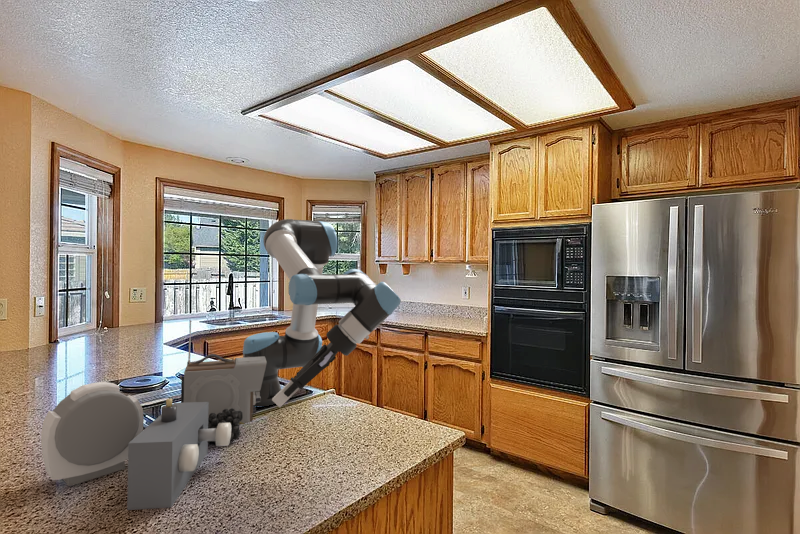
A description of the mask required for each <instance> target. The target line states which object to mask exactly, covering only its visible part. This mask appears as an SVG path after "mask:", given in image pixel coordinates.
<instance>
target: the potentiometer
mask: <svg viewBox="0 0 800 534" xmlns="http://www.w3.org/2000/svg"><path fill="white" fill-rule="evenodd" d="M160 410H161V411H160V412H161V413H160V415H161V422H164V423H167V422H173V421H175V420H176V419H177V405H174V403H173V398H166V399H165V405H162V406H161V409H160Z"/></svg>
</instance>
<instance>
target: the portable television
mask: <svg viewBox="0 0 800 534" xmlns="http://www.w3.org/2000/svg"><path fill="white" fill-rule="evenodd" d="M191 334H192V320H191V319H190V320H189V340H188V355H187V356H188V357H187V358H188V360H187V363H186V364H187V365H186V367H185V369H184V372H183V375H180V376H179V378H180V379H179V380H181V384H180V385H181V387H180V388H181V389H180V391H181V392H180V403H186V402H209V405H208V418H209V415H210V414H211V413H215V414H216V416H217V414H218V413H222V411H223V410H224V409H228V410H229V409H231V408H233V409H235V410H236V411H241V412H242V413H243V418H242V420H241V421H240V422H241V423H244V424H248V423H251V422H253V414H254V415H255V414H257V408H256V407H255V404H256V402H260V399H261V397H260V392H257V391H260V390H261V385H262V381H263V377H264V373H265V368H266V364H267V361H266V358H265V356H261V357H244V358H243V357H235V358H234V357H232V359H231V358H230V359H228V358H225V357H224V358H223V357H222V356H220V355H218V354H215V353H211V354H208V355H206V356H204V357H203V358H201V359H199V360H195V361H191V342H192V341H191V336H192V335H191ZM210 358H215V359H218V360H213V361H210V360H209V361H205V360H207V359H210ZM255 392H256V394H255Z"/></svg>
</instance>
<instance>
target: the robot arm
mask: <svg viewBox="0 0 800 534" xmlns="http://www.w3.org/2000/svg"><path fill="white" fill-rule="evenodd" d="M263 246H264V249H265V250H266V253H267V254H268V255H269V256H270V257H271V258H274V259H275V260H276V261H277V262H278V265H279V266H280V267H281V269H282V270H283V272H284V273H285V275H286V276H287V278H288V279H289V282H288V296H289V299H290V301H291V303H292V309H291V310H292V311H291V320H290V325H289V326H287V327H286V328H285V332H284V335H279V332H276V331H266V332H260V333H256V334H255V333H254V334H252V335H249V336H248V337H246V338H245V339H244V341H243V347H242V354H243V355H242V358H244V357H261V356H265V358H266V361H267V364H266V368H265V373H264V377H263V381H262V385H261V390H260V391H257V392H260V397H261V399H260V402H256V404H255V406H269V405H273V404H276V405H275V406H277V407H278V408H281V407H282V406H283V405H284V404H285V403H286V402H287V401H289V400H290V398H292V397H293V396H294V395H295V394H296V392H298V391H299V390H302V389H304V387H305V386H306V385H308V383H310V382H311V381H313V379H314V378H315V377H317V376H318V375H320V373H321V372H322V371H323V370H324V369H326V368H327V367H329V366H330V364H331V363H333V362H334V361H335V360H336V358H337V357H336V356H337V354H338V353H341V354H342V355H344V356H349V355H350V354H351V353H352V352H353V351H354V350H355V349H356V348H357V346H358V344H361V343H362V342H363V341H364V340H365V339H366V340H368V339H369V338H370V336H369V335H370V334H371V333H372V332H373V331H375V329H376V328H378V327H379V326H380V325H381V324H382V323H383V322H384V321H385V320H386V319H387V318H388V317H389V316H390V315H392V314H393V313H394V311H395V310H396V309H397V308H398V307H399V306H400V304H401V302H402V300H401V297H400V296H399V295H398V294H397V293H396V292H395V291H394V290H393V289H392V288H391V287H390V285H388V284H387V283H386V282H385V281H380V282H379V283H378V284H376V283H375V282H374V281H373V280H372V279H371V278H370V276H368V274H366V273H365V272H364V271H362V270H361V269H358V268H350V269H349V270H347V271H345V272H344V273H343V274H330V273H329V274H327V273H326V274H325V273H323V272H324V267H325V266H326V265H327V264H329V259H330V257H333V256H335V255H336V252H337V251H338V237H337V233H336V230H335V228H334V226H333V225H332V224H331V223H330V222H325V221H321V220H307V219H292V218H285V219H281V220H278V221H276V222H274V223H272V224H271V225H270V226H269V227H268V228H267V229H266V231H265V233H264V236H263ZM330 304H331V305H332V304H334V305H336V304H353V305H354V307H353V308H351V309H350V310H349V311H348V312H347V313H346V314H345V315H344V316H343V317H341V319H339V321H338V324H335V325H333V327H332V328H331V329H330V330H328V331H327V333H326V338H327V339H328V341H329V343H327V344H326V343H324V344H323V339H322V337H321V335H320V334H319V331H318V329H316V323H317V322H316V321H317V315H318V308H319V305H330ZM293 368H294V369H295V368H301V369H300V370H299V371H297V372H296V375H295V376H294V377H293V376H292V377H290V381H288V382H287V384H286V385H285V386H284V387H282V388H281V384H280V380H279V370H285V369H293ZM255 394H256V392H255ZM273 406H274V405H273Z"/></svg>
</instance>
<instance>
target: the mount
mask: <svg viewBox="0 0 800 534" xmlns="http://www.w3.org/2000/svg"><path fill="white" fill-rule="evenodd" d="M173 404H174V405H177V419H176V420H175V421H173V422H167V423H164V422H161V414H160V415H159V416H158V417H156V419H154V420H153V421H152V422H151V423H150V424H148V425H147V426H146V427H145V428H143V431H142V432H141V433H140V434H138V435H137V436H136V437H135V438H134V439H133V440H132V441H130V442H129V443H128V460H127V500H126V501H127V504H126V506H127V507H126V510H127V511H131V510H150V509H151V510H152V509H163V508H164V509H165V508H166V509H167V508H172V507H173V506H174V504H175V502H176V501H177V499H178V498H179V497H180V495H181V494H182V492H183V491H184V489H185V488H186V486H187V484H189V482H190V480H191V478H192V477H193V476H194V475H195V473H196V471H197V470H198V468H199V466H200V465H201V464H202V463H203V461H204V460H205V457H207V455H208V453H209V452H208V451H209V450H208V449H209V446H208V445H209V443H208V441H199V442H198V430H199V429H208V405H209V402H186V403H181V402H174V403H173ZM189 444H197V445H198V448H199V456H198V462H197V466H196V468H195V470H194V471H184V472H180V471H179V468H178V460H179V453H180V451H181V448H182V446H183V445H189Z"/></svg>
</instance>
